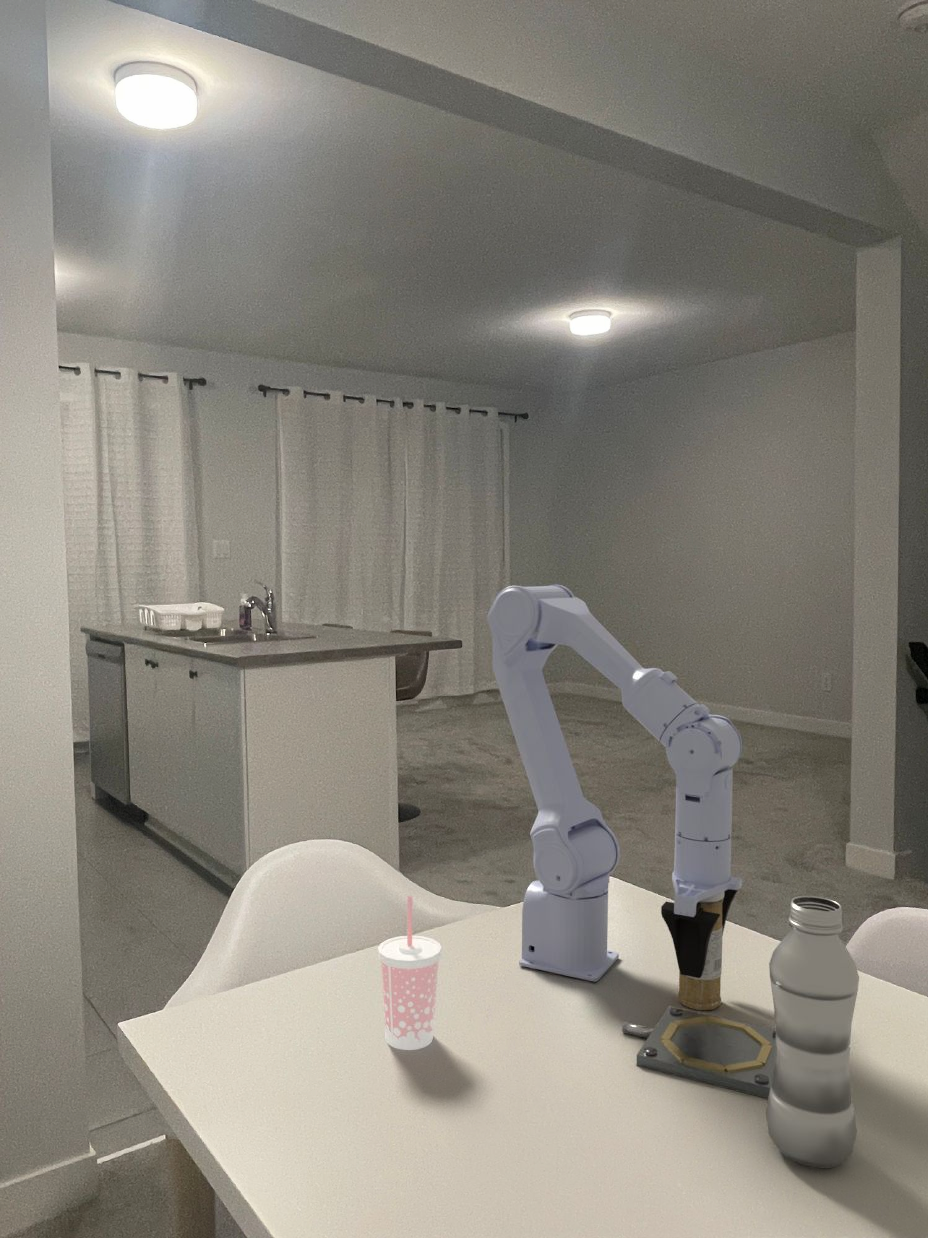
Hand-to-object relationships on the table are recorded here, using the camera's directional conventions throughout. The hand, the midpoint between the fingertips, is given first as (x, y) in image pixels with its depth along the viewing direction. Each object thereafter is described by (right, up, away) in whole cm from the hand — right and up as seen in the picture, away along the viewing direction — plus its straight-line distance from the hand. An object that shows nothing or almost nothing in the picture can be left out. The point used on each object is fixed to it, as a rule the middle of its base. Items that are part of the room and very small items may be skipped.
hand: (700, 961), depth 101 cm
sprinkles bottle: (0, -5, 0) cm, 5 cm away
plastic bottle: (+2, -6, -26) cm, 26 cm away
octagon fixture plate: (-2, -5, -10) cm, 11 cm away
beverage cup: (-30, -5, -8) cm, 31 cm away
